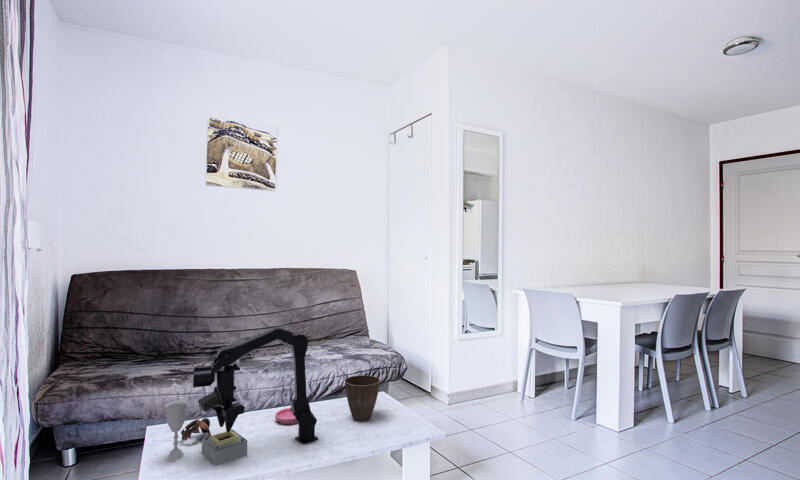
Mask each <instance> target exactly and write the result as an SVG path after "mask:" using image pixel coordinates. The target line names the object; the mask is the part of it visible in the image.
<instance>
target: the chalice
mask: <svg viewBox="0 0 800 480" xmlns="http://www.w3.org/2000/svg"><path fill="white" fill-rule="evenodd" d="M188 403H189V402H188V400H184V399H183V400H182V399H179V400H174V401H170V402H167V403H166V404H165V405H164V407H165V408H166V422H167V425H168V427H169V429H170V431H171V432H173V433H174V434H173V435H174V436H173V437H172V438H173V440H174V441H173V442H172V444H173V449H171V451H170V452H169V454H168V457H167V458H166V459H167V461H170V462H174V461H179V460H181V459H182V458H184V457H185V454H183V451H182V449H181V448H178V444H179V443H180V442H179V441H178V439H179V435H178V432H179V431H182V430H181V429H182V428H183V425H184V423H185V421H186V419H187V405H188Z"/></svg>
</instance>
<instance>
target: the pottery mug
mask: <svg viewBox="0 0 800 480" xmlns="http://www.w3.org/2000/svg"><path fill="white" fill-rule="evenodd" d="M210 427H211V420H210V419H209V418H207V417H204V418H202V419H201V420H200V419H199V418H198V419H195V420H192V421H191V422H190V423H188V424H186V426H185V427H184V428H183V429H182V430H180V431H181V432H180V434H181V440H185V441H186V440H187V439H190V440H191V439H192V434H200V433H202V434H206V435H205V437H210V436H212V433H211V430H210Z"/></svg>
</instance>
